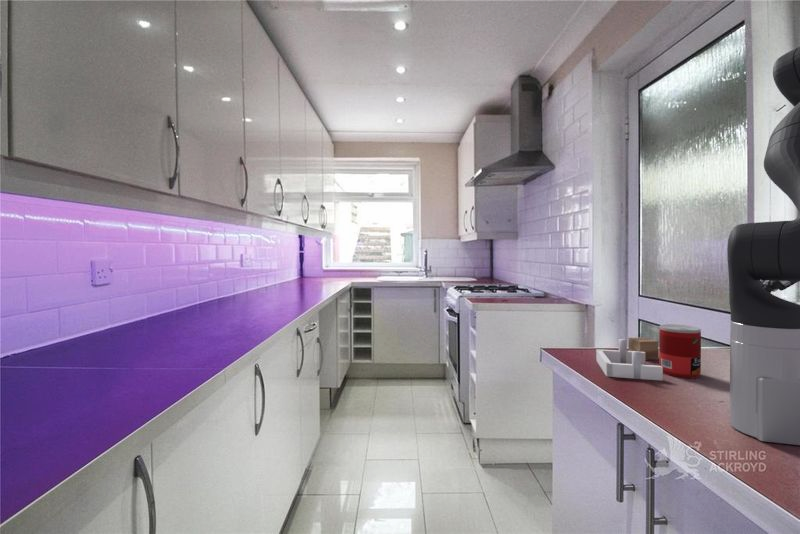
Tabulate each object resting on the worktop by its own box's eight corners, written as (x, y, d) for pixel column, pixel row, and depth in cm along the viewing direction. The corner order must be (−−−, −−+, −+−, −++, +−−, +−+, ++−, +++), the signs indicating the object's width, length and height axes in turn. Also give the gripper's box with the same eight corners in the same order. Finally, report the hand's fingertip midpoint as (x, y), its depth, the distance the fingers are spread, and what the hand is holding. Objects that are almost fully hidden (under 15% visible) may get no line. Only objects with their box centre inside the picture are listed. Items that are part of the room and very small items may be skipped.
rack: (663, 381, 86) (663, 354, 86) (606, 376, 89) (606, 351, 89) (643, 362, 100) (643, 340, 100) (595, 359, 104) (595, 337, 103)
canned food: (701, 380, 86) (701, 331, 86) (658, 374, 91) (658, 328, 90) (700, 372, 92) (700, 326, 92) (660, 366, 97) (660, 323, 96)
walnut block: (658, 359, 103) (658, 341, 103) (640, 360, 103) (640, 341, 103) (645, 354, 108) (645, 337, 108) (628, 355, 108) (628, 337, 108)
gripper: (781, 233, 90) (718, 284, 94) (826, 229, 77) (749, 289, 81) (810, 255, 89) (744, 306, 93) (860, 255, 75) (781, 315, 79)
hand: (747, 298), depth 87 cm, fingers open, 3 cm apart
